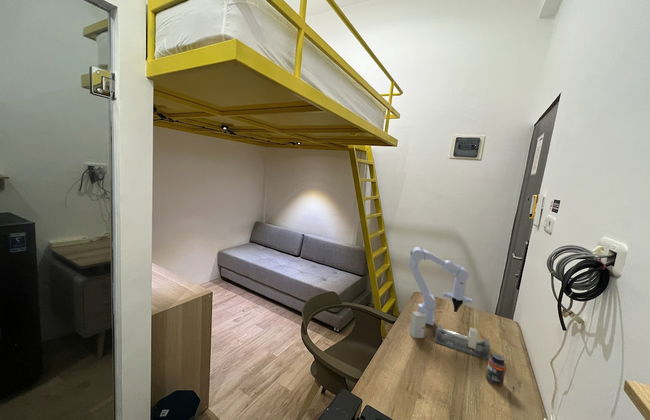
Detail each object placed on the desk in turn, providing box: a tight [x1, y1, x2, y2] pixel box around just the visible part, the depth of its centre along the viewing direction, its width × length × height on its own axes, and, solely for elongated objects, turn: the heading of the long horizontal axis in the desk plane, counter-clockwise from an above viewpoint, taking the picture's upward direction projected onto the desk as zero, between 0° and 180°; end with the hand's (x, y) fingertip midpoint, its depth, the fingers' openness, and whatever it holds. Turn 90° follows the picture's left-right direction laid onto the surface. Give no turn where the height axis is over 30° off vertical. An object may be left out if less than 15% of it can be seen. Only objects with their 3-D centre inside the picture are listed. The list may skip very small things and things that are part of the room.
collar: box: [467, 327, 479, 349], centre depth 121 cm, size 3×5×8 cm, turn 154°
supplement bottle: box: [485, 352, 507, 387], centre depth 100 cm, size 6×6×11 cm
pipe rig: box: [434, 324, 492, 361], centre depth 123 cm, size 24×12×6 cm, turn 64°
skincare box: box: [409, 311, 427, 339], centre depth 127 cm, size 6×4×12 cm
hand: (455, 311), depth 138 cm, fingers closed
